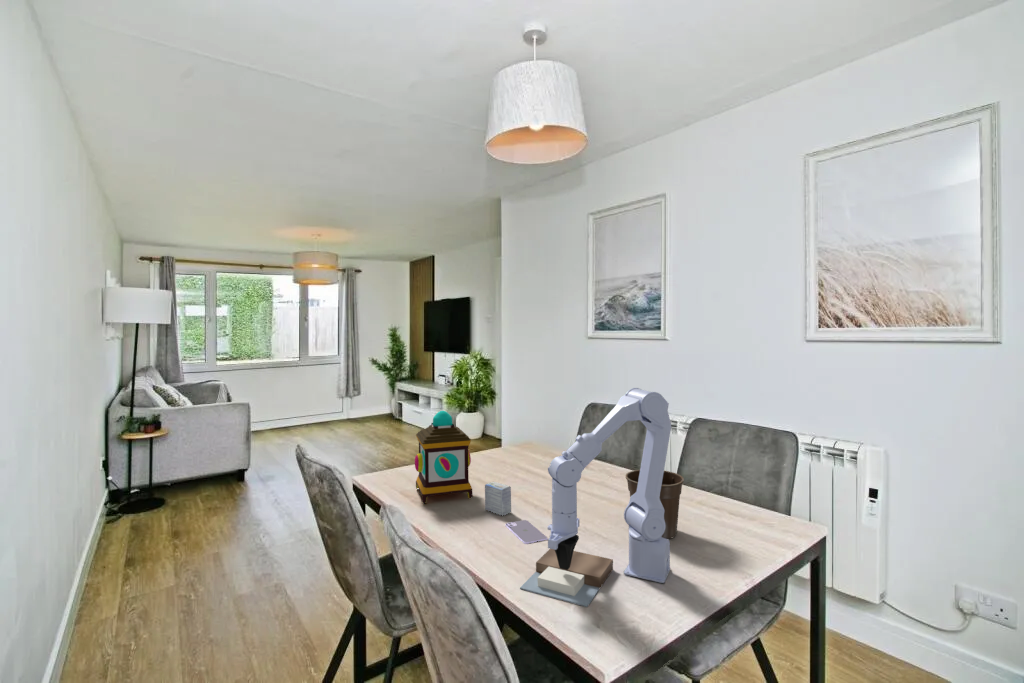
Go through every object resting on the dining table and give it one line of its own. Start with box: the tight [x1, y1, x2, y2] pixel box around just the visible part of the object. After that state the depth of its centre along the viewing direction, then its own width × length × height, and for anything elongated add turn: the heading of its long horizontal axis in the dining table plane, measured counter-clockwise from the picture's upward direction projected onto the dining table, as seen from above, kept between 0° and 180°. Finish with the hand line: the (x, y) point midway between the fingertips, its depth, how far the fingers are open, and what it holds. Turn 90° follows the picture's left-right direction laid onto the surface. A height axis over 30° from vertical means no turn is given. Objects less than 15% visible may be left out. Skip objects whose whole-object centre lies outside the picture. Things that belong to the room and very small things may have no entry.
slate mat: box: [519, 571, 601, 608], centre depth 112 cm, size 16×8×1 cm, turn 62°
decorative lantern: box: [414, 410, 473, 504], centre depth 177 cm, size 20×20×30 cm
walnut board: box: [535, 548, 614, 589], centre depth 121 cm, size 16×10×2 cm, turn 62°
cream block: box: [538, 566, 584, 596], centre depth 114 cm, size 9×6×2 cm, turn 61°
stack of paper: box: [484, 481, 512, 517], centre depth 160 cm, size 8×4×9 cm, turn 47°
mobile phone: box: [504, 519, 549, 545], centre depth 144 cm, size 8×1×15 cm
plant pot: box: [624, 469, 685, 540], centre depth 143 cm, size 16×16×16 cm
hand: (564, 567), depth 115 cm, fingers closed
